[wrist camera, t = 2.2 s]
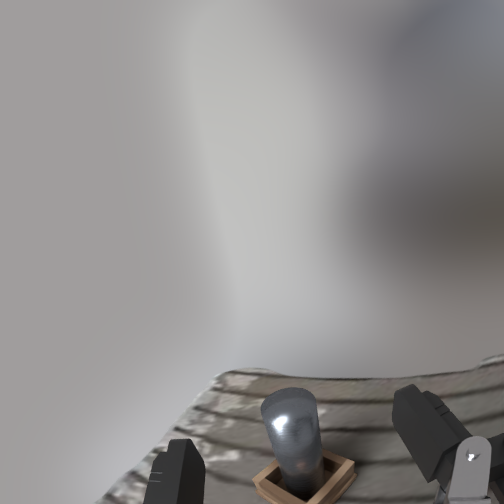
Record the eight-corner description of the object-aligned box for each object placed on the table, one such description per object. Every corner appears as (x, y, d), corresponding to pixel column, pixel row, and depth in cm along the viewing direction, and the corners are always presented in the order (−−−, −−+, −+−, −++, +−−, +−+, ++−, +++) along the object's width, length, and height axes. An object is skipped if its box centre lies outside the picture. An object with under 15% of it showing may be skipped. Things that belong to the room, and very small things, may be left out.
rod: (303, 465, 29) (285, 381, 25) (333, 479, 25) (327, 397, 22) (278, 488, 26) (249, 410, 22) (308, 505, 22) (290, 433, 19)
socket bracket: (302, 452, 32) (299, 435, 31) (356, 477, 25) (358, 460, 24) (256, 493, 26) (248, 479, 25) (311, 527, 19) (308, 516, 18)
